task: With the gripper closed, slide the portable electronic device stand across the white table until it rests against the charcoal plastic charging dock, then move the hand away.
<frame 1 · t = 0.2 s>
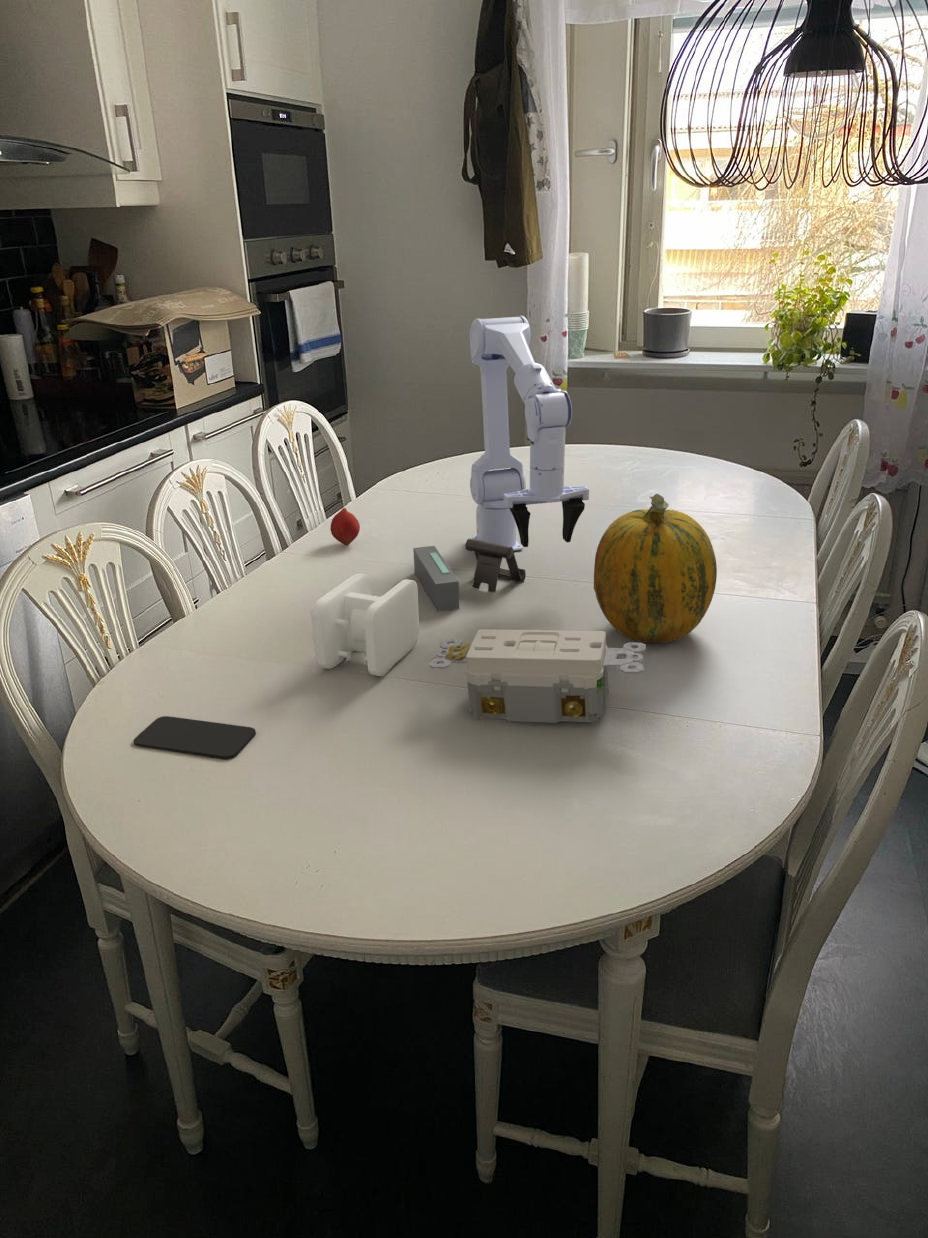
hand: (545, 542, 162), 9 cm above the table, tool pointing down, fingers open, 7 cm apart
pumpkin: (650, 633, 152), on the table
portable electronic device stand: (494, 584, 171), on the table
onion: (346, 545, 191), on the table
white labeled box: (641, 579, 172), on the table
charging dock: (435, 589, 169), on the table
electrical outlet: (536, 708, 131), on the table
cable organizer: (369, 660, 145), on the table
phone: (195, 741, 125), on the table
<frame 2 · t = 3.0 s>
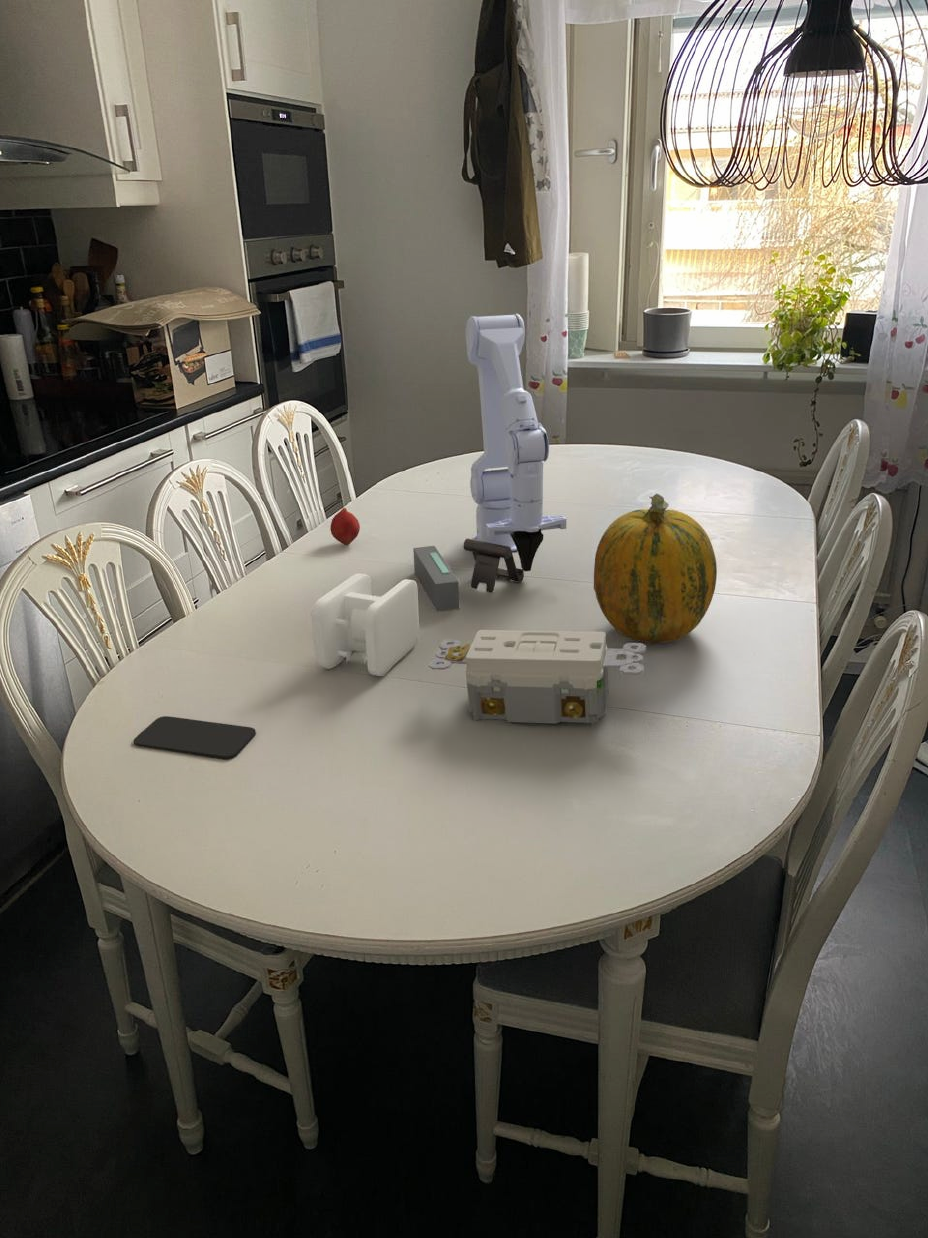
hand: (526, 569, 172), 2 cm above the table, tool pointing down, fingers closed
portable electronic device stand: (493, 584, 171), on the table, touching gripper
everything else where it was.
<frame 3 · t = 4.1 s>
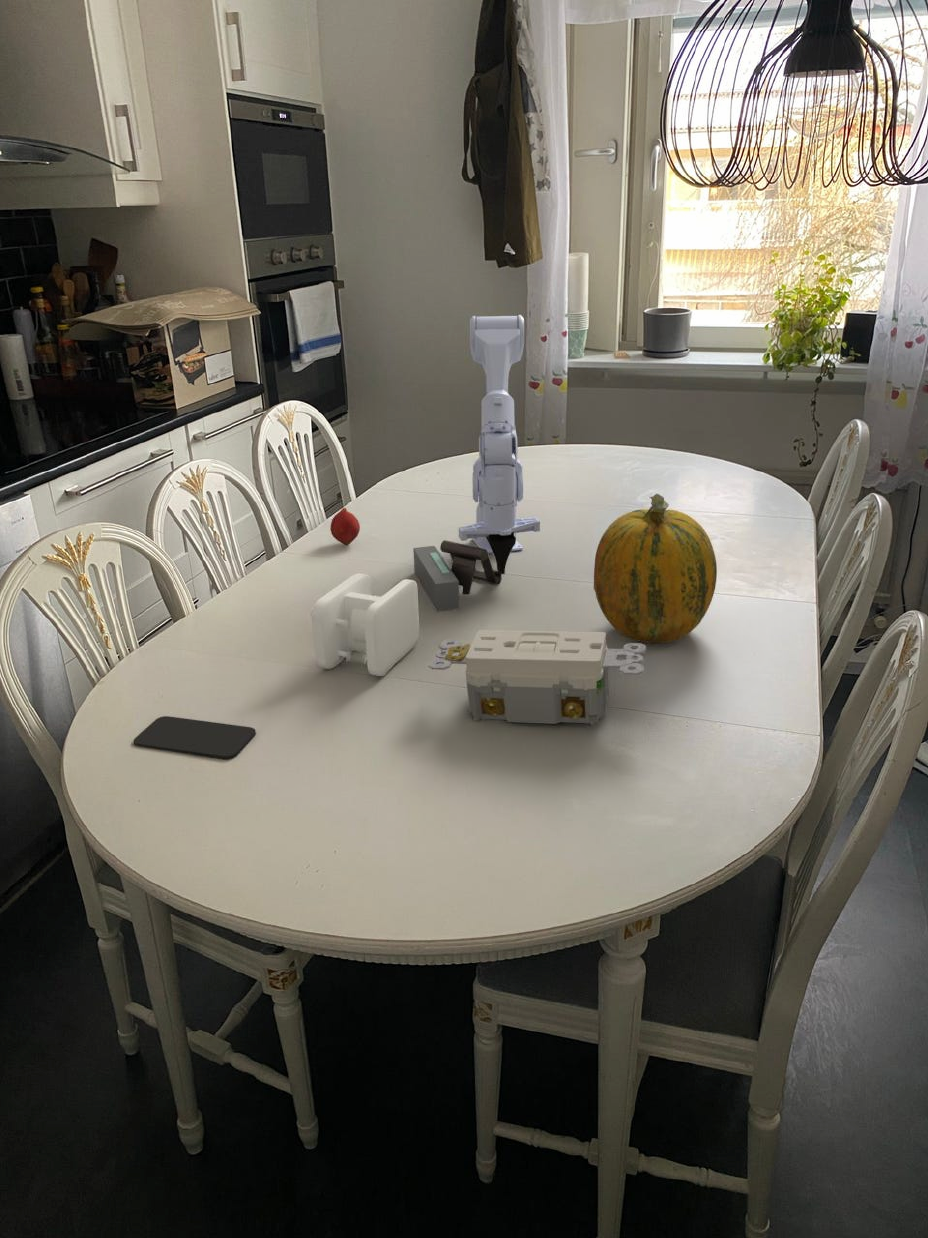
hand: (500, 572, 171), 2 cm above the table, tool pointing down, fingers closed, pressing on portable electronic device stand
portable electronic device stand: (470, 586, 170), on the table, touching charging dock, gripper
everything else where it was.
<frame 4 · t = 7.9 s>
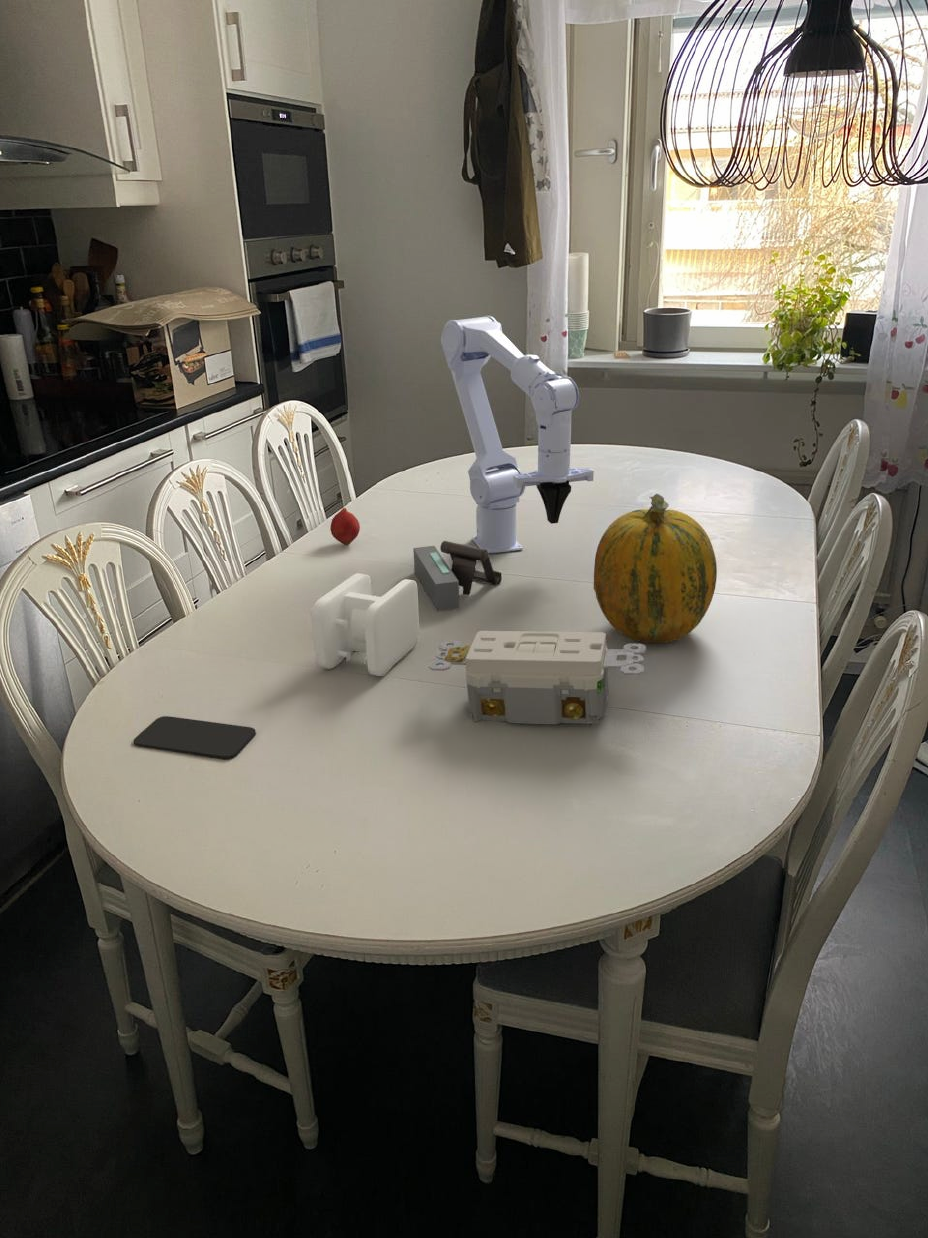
hand: (552, 521, 172), 9 cm above the table, tool pointing down, fingers closed
portable electronic device stand: (470, 587, 170), on the table
everything else where it was.
at the end: portable electronic device stand tilted 0°; portable electronic device stand moved 4.6 cm from its start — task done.
